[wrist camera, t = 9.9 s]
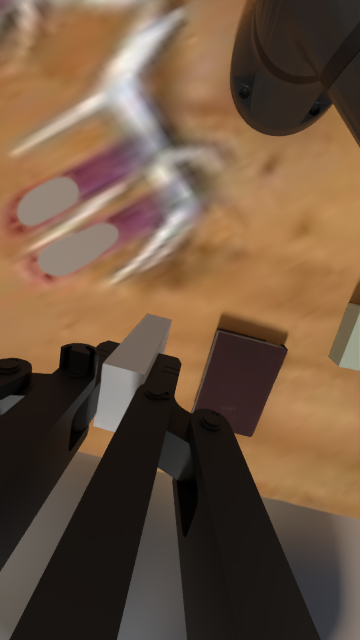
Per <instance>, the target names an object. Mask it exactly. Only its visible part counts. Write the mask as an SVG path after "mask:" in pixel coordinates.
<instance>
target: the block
mask: <svg viewBox="0 0 360 640" xmlns="http://www.w3.org/2000/svg"><path fill="white" fill-rule="evenodd" d="M328 357H329V358H330V359H331V360H332V361H333V362H334V363H335V364H337V365H338V366H339V367H344V368H349V369H355V370H360V305H358V304H352V303H348V306H347V308H346V311H345V314H344V316H343V319H342V322H341V324H340V327H339V330H338V332H337V335H336V338H335V340H334V343H333V346H332V348H331V351H330V353H329V356H328Z"/></svg>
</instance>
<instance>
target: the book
mask: <svg viewBox="0 0 360 640" xmlns="http://www.w3.org/2000/svg"><path fill="white" fill-rule="evenodd" d="M287 351H288V350H287V348H286V347H285V346H284V345H281V346H279V345H275V344H271V343H267V342H266V340H262V339H258V338H255V337H251V336H247V335H244V334H239V333H236V332H232V331H228V330H224V329H218V328H217V331H216V334H215V337H214V341H213V344H212V347H211V350H210V354H209V358H208V362H207V365H206V369H205V372H204V376H203V379H202V382H201V386H200V389H199V392H198V395H197V398H196V401H195V404H194V406H193V409H192V412H191V413H193V412H194V411H195V410H197V409H210V410H214V411H216V412H218V413H220V414H221V415H223V416H224V417H225V418H226V419H227V420H228V422H229V423H230V425H231V428H232V430H233V432H234V433H236V434H240V435H244V436H248V437H251V436H252V435H253V433H254V431H255V428H256V426H257V423H258V421H259V419H260V416H261V414H262V411H263V409H264V406H265V404H266V401H267V399H268V397H269V394H270V392H271V389H272V387H273V384H274V382H275V380H276V378H277V375H278V373H279V371H280V368H281V366H282V364H283V361H284V359H285V356H286V354H287Z"/></svg>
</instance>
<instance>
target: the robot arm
mask: <svg viewBox="0 0 360 640" xmlns="http://www.w3.org/2000/svg"><path fill="white" fill-rule="evenodd" d="M230 87H231V93H232V98H233V101H234V104H235V106H236V108H237V110H238V112H239V114H240V115H241V117H242V118H243V119H244V121H245V122H246V123H247V124H248V125H249V126H251V127H252V128H253V129H255V130H257V131H259V132H261V133H263V134H267V135H271V136H286V135H291V134H294V133H297V132H300V131H302V130H304V129H306V128H307V127H309V126H311V125H312V124H313V123H315V122H316V121H317V120H318V119H319V118H320V117H321V116H322V115H323V114H324V113H325V112H326V111H327V110H328V109H329V108H330V107H331V105H332V104H334V106H335V108H336V109H337V111H338V113H339V114H340V116H341V118H342V119H343V121H344V122H345V124H346V126H347V127H348V129H349V131H350V132H351V134H352V136H353V137H354V139H355V141H356V142H357V144H358V146H359V147H360V0H256V1H255V3H254V5H253V6H252V8H251V10H250V11H249V13H248V15H247V16H246V18H245V20H244V22H243V24H242V26H241V28H240V30H239V33H238V35H237V38H236V41H235V45H234V49H233V54H232V61H231V69H230ZM171 322H172V320H171V319H167V318H163V317H159V316H155V315H151V314H147V315H146V316H145V317H144V318H143V319H142V320H141V322H140V323H139V324H138V325H137V326H136V327H135V328H134V329H133V330H132V332H131V333H130V334H129V335H128V336H127V337H126V338H125V339H124V340H123V342H122V343H121V344H120V343H116V342H112V341H106V342H103V343H100V344H99V345H98V346H97V347H96V348H95V347H94V346H91V345H88V344H83V343H72V344H66V345H64V346H62V347H61V353H60V364H59V368H58V369H57V370H56V371H55V372H53V373H52V374H42V373H32V366H31V363H29V362H28V361H26V360H23V359H18V358H6V359H0V571H1V570H2V568H3V566H4V565H5V563H6V562H7V560H8V559H9V557H10V555H11V554H12V552H13V551H14V549H15V548H16V546H17V544H18V543H19V541H20V540H21V538H22V537H23V535H24V534H25V532H26V530H27V529H28V527H29V526H30V524H31V523H32V521H33V519H34V518H35V516H36V515H37V513H38V512H39V510H40V508H41V507H42V505H43V504H44V502H45V501H46V499H47V497H48V496H49V494H50V493H51V491H52V490H53V488H54V486H55V485H56V483H57V482H58V480H59V479H60V477H61V475H62V474H63V472H64V471H65V469H66V468H67V466H68V465H69V463H70V461H71V460H72V458H73V457H74V455H75V453H76V452H77V450H78V449H79V447H80V446H81V444H82V443H83V441H84V439H85V438H86V436H87V433H88V430H89V423H90V422H91V420H92V419H93V417H94V416H95V418H94V425H93V426H95V427H99V428H102V429H106V430H109V431H113V432H115V433H114V435H113V437H112V439H111V441H110V443H109V445H108V447H107V449H106V451H105V453H104V455H103V457H102V459H101V461H100V463H99V465H98V467H97V469H96V471H95V472H94V475H93V476H92V478H91V480H90V482H89V484H88V486H87V488H86V490H85V492H84V494H83V496H82V498H81V501H80V502H79V504H78V506H77V508H76V510H75V512H74V514H73V516H72V518H71V520H70V522H69V524H68V526H67V528H66V530H65V532H64V534H63V536H62V537H61V540H60V541H59V543H58V545H57V547H56V549H55V551H54V553H53V555H52V557H51V559H50V561H49V563H48V565H47V567H46V569H45V571H44V573H43V575H42V577H41V579H40V581H39V583H38V585H37V587H36V589H35V590H34V592H33V594H32V596H31V598H30V600H29V602H28V604H27V606H26V608H25V610H24V612H23V614H22V616H21V618H20V620H19V622H18V624H17V626H16V628H15V630H14V632H13V634H12V636H11V638H10V640H117V636H118V632H119V628H120V623H121V619H122V615H123V611H124V607H125V603H126V598H127V593H128V590H129V585H130V581H131V577H132V573H133V569H134V565H135V560H136V556H137V552H138V547H139V543H140V539H141V535H142V531H143V526H144V522H145V518H146V514H147V509H148V505H149V501H150V497H151V492H152V489H153V484H154V480H155V476H156V472H157V467H158V468H160V469H161V470H163V471H164V472H166V473H167V474H169V475H170V476H172V477H173V480H172V484H173V495H174V505H175V516H176V526H177V536H178V547H179V557H180V568H181V579H182V590H183V600H184V611H185V622H186V632H187V640H320V638H319V635H318V633H317V630H316V628H315V626H314V623H313V621H312V618H311V616H310V614H309V611H308V609H307V606H306V604H305V602H304V599H303V597H302V595H301V592H300V590H299V587H298V585H297V583H296V580H295V578H294V575H293V573H292V571H291V568H290V566H289V563H288V561H287V559H286V556H285V554H284V552H283V549H282V547H281V544H280V542H279V540H278V537H277V535H276V533H275V530H274V528H273V525H272V523H271V521H270V518H269V516H268V513H267V511H266V509H265V506H264V504H263V502H262V499H261V497H260V494H259V492H258V490H257V487H256V485H255V482H254V480H253V478H252V475H251V473H250V470H249V468H248V466H247V463H246V461H245V459H244V456H243V454H242V451H241V449H240V447H239V444H238V442H237V440H236V437H235V435H234V432H233V430H232V428H231V425H230V423H229V422H228V420H227V419H226V418H225V417H224V416H223V415H221V414H220V413H218V412H216V411H214V410H210V409H197V410H195V411H194V412H193V413H190V412H188V411H186V410H185V409H183V408H182V407H181V406H179V405H178V403H177V402H176V400H175V397H174V395H175V390H176V385H177V381H178V377H179V373H180V368H181V362H180V360H179V358H176V357H172V356H168V355H164V351H165V347H166V343H167V339H168V334H169V330H170V326H171Z"/></svg>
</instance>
